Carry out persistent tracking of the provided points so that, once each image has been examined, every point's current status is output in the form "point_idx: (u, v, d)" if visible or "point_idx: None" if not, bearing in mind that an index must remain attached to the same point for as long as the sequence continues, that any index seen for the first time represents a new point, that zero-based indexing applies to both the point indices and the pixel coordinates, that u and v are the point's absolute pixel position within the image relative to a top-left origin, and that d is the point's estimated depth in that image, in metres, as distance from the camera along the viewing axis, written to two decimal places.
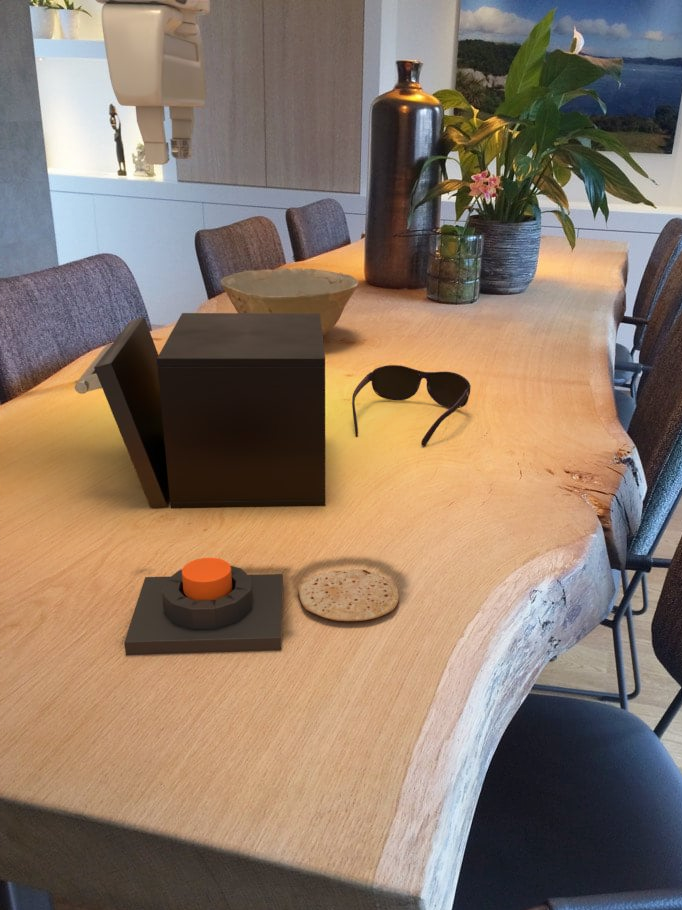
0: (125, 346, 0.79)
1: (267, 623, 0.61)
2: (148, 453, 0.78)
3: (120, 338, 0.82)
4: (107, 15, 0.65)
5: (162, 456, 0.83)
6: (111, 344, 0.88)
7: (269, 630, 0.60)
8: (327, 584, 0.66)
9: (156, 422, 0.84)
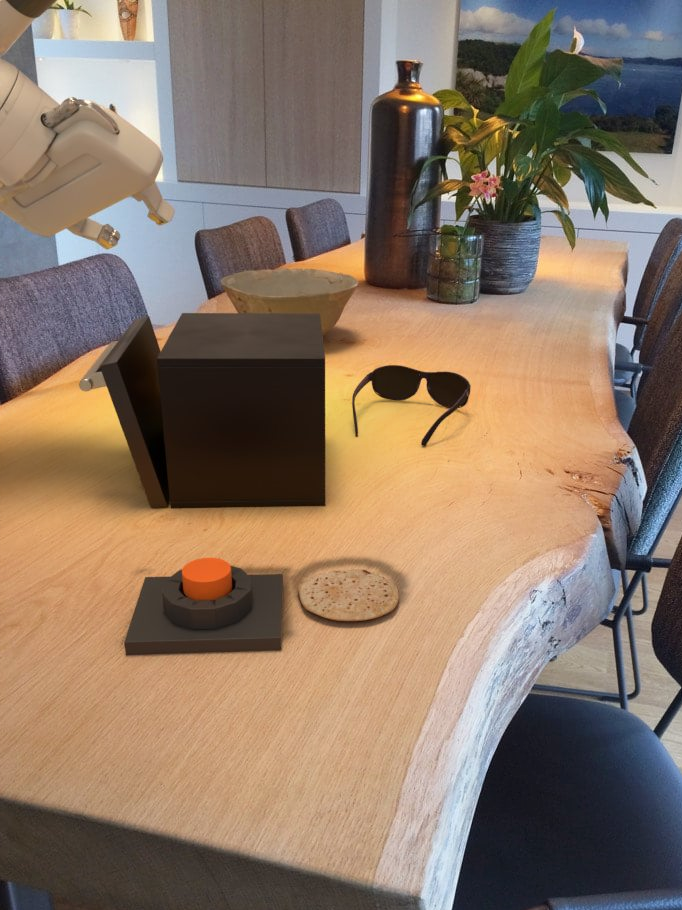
0: (130, 345, 0.79)
1: (267, 623, 0.61)
2: (150, 453, 0.78)
3: (125, 337, 0.82)
4: None
5: (163, 456, 0.83)
6: (115, 342, 0.88)
7: (269, 630, 0.60)
8: (327, 584, 0.66)
9: (158, 422, 0.84)
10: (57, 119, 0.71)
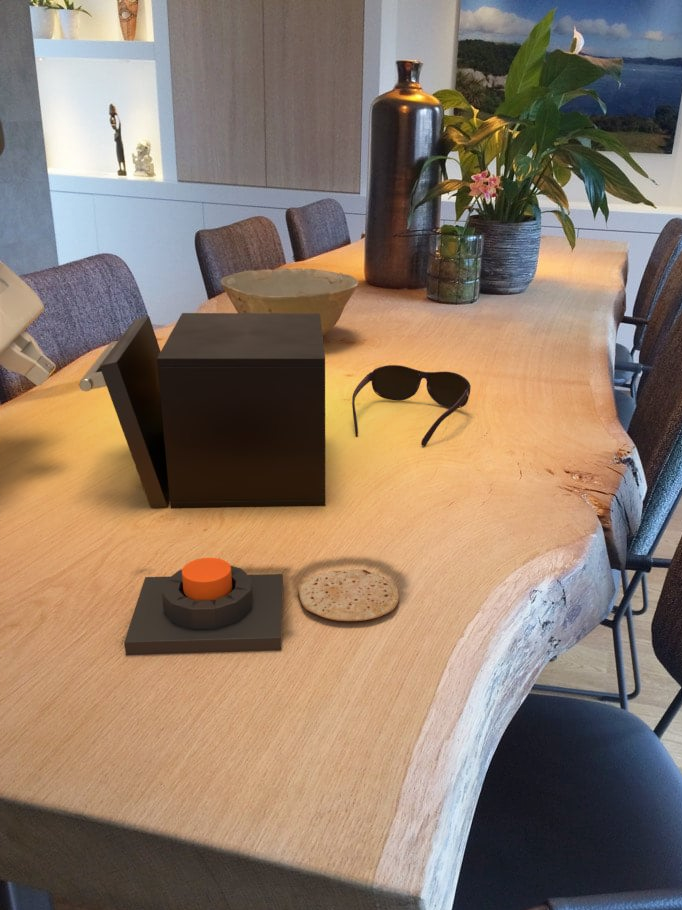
0: (130, 345, 0.79)
1: (267, 623, 0.61)
2: (150, 453, 0.78)
3: (125, 337, 0.82)
4: None
5: (163, 456, 0.83)
6: (115, 342, 0.88)
7: (269, 630, 0.60)
8: (327, 584, 0.66)
9: (158, 422, 0.84)
10: None
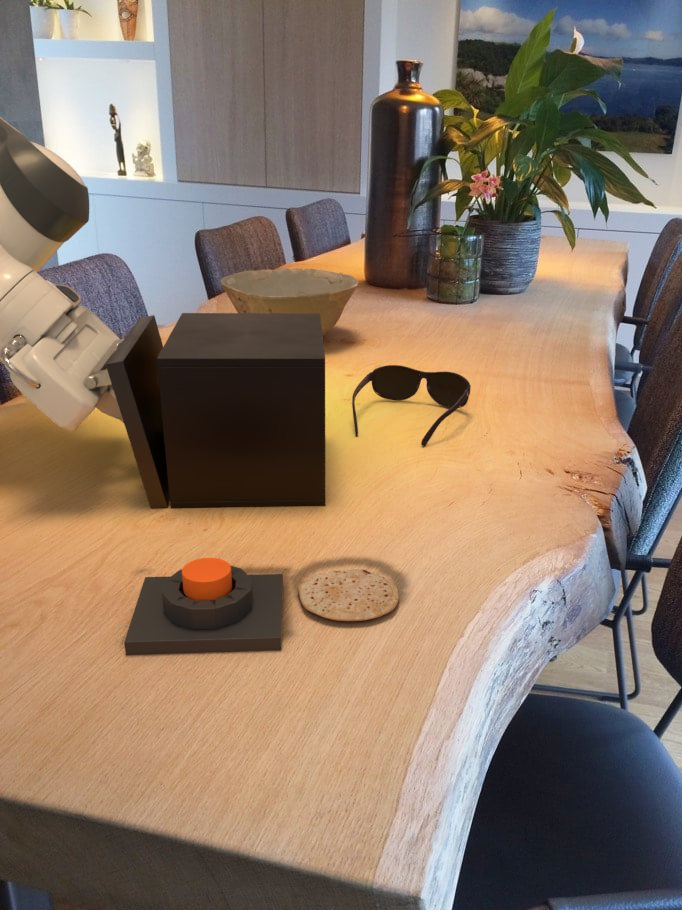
0: (136, 344, 0.79)
1: (267, 623, 0.61)
2: (152, 453, 0.78)
3: (130, 336, 0.82)
4: None
5: (165, 456, 0.83)
6: (119, 340, 0.88)
7: (269, 630, 0.60)
8: (327, 584, 0.66)
9: (161, 422, 0.84)
10: None
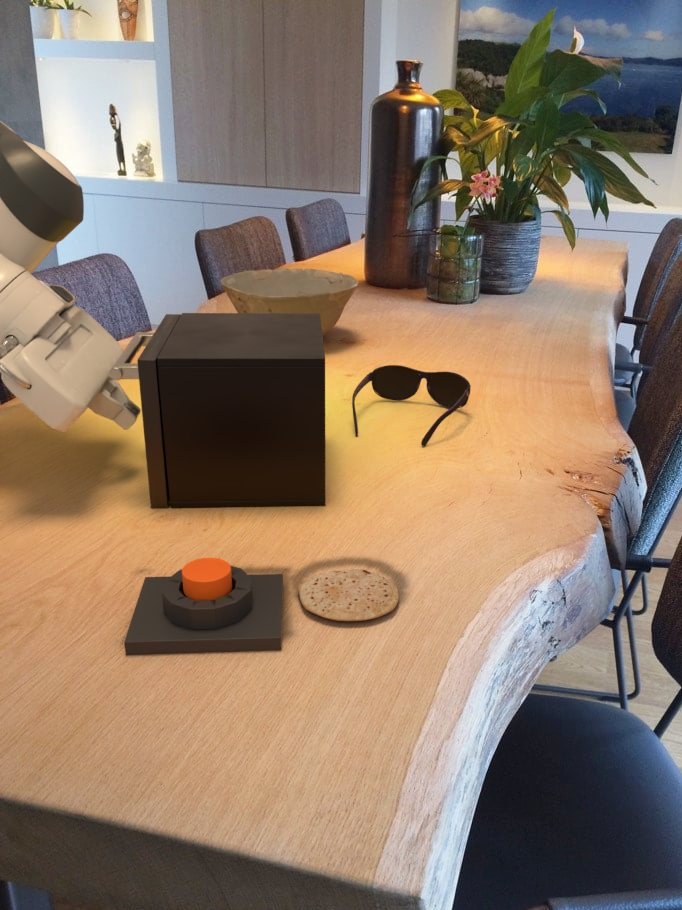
0: None
1: (267, 623, 0.61)
2: (164, 453, 0.78)
3: (159, 333, 0.82)
4: None
5: None
6: (143, 333, 0.87)
7: (269, 630, 0.60)
8: (327, 584, 0.66)
9: None
10: None
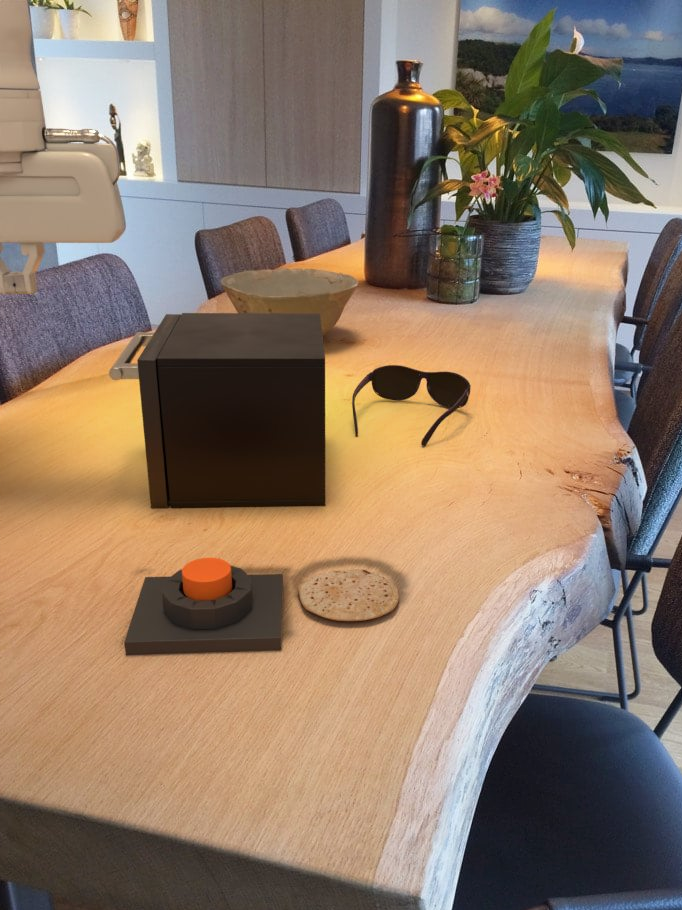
0: None
1: (267, 623, 0.61)
2: (164, 453, 0.78)
3: (159, 333, 0.82)
4: None
5: None
6: (143, 333, 0.87)
7: (269, 630, 0.60)
8: (327, 584, 0.66)
9: None
10: (65, 137, 0.70)
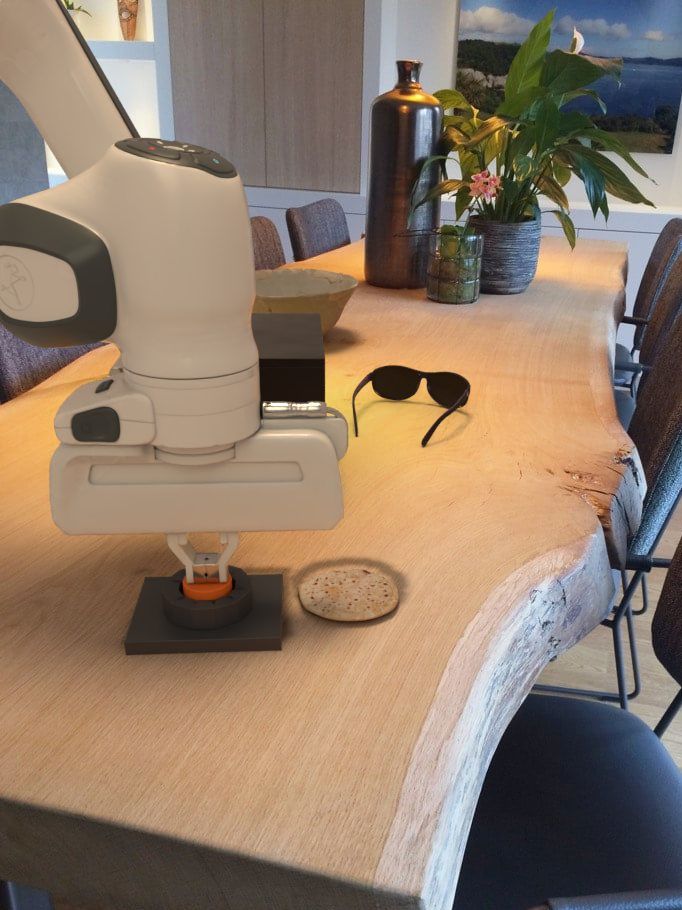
0: None
1: (267, 623, 0.61)
2: None
3: None
4: None
5: None
6: None
7: (269, 630, 0.60)
8: (327, 584, 0.66)
9: None
10: (287, 413, 0.56)
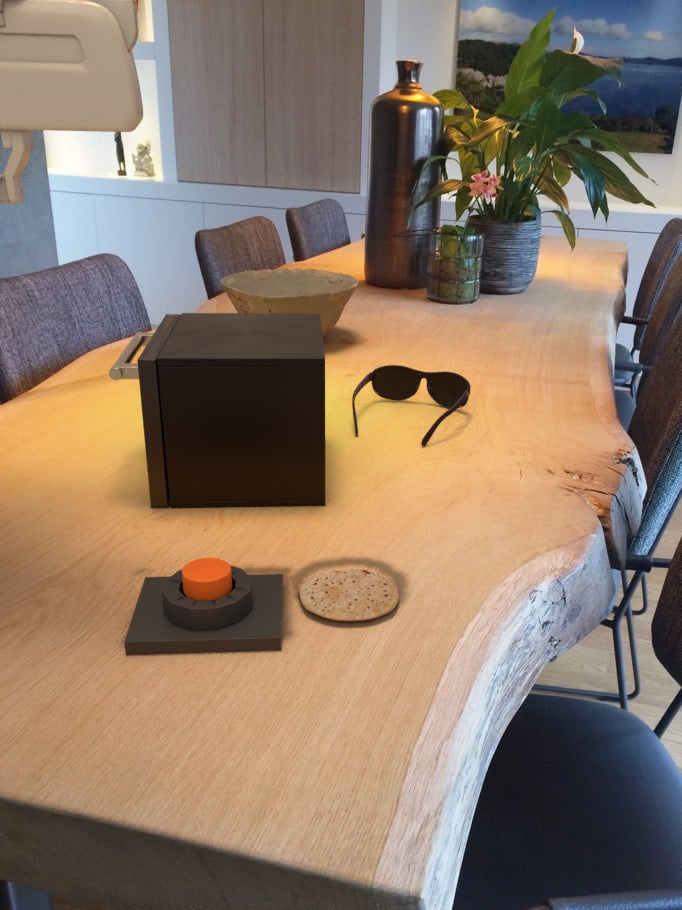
0: None
1: (267, 623, 0.61)
2: (164, 453, 0.78)
3: (159, 333, 0.82)
4: None
5: None
6: (143, 333, 0.87)
7: (269, 630, 0.60)
8: (327, 584, 0.66)
9: None
10: None
